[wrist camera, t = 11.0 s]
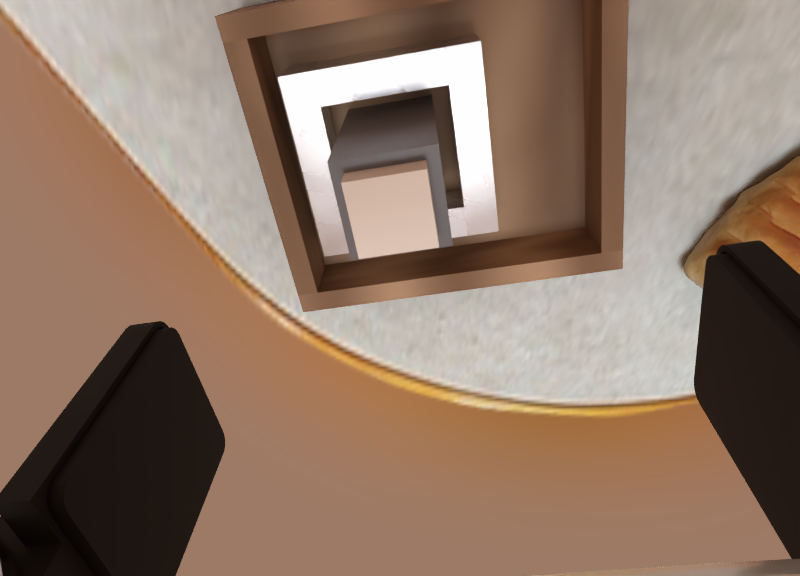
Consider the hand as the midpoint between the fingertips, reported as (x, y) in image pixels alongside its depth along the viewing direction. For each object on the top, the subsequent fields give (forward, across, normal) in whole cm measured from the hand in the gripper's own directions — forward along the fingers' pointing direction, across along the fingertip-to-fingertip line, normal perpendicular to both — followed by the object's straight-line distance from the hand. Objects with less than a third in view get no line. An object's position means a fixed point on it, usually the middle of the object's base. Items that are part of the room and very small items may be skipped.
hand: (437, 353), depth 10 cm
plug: (+20, +2, +2) cm, 20 cm away
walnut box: (+21, 0, +2) cm, 21 cm away
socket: (+21, +2, +2) cm, 21 cm away
